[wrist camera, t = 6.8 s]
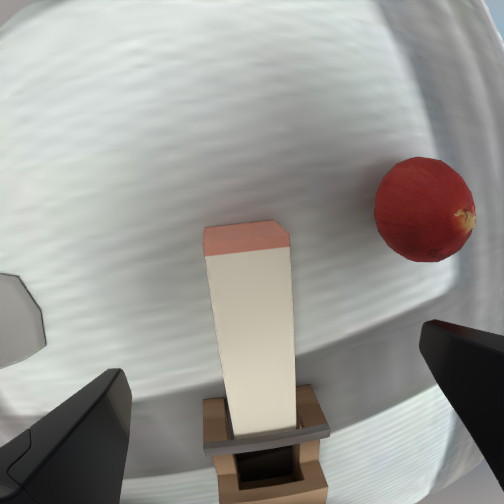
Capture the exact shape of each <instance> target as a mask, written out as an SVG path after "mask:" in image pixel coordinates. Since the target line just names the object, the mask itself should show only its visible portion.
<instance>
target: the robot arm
mask: <svg viewBox="0 0 504 504" xmlns="http://www.w3.org/2000/svg"><path fill="white" fill-rule="evenodd" d="M419 349H420V352H421V354H422V356H423V358H424V359H425V361H426V363H427V365H428V367H429V369H430V371H431V372H432V374H433V376H434V378H435V380H436V382H437V384H438V385H439V387H440V389H441V390H442V392H443V393H444V395H445V396H446V398H447V399H448V401H449V402H450V404H451V405H452V407H453V408H454V410H455V411H456V413H457V414H458V416H459V418H460V419H461V421H462V422H463V424H464V425H465V427H466V428H467V430H468V432H469V433H470V435H471V436H472V438H473V440H474V441H475V443H476V445H477V446H478V448H479V450H480V451H481V453H482V455H483V456H484V458H485V459H486V461H487V463H488V464H489V466H490V468H491V470H492V471H493V473H494V475H495V477H496V479H497V480H498V482H499V484H500V486H501V487H502V489H503V491H504V336H502V335H498V334H494V333H489V332H485V331H481V330H477V329H473V328H469V327H465V326H460V325H456V324H452V323H448V322H444V321H440V320H436V319H433V320H430V321H426V322H424V323H423V325H422V330H421V336H420V342H419ZM131 404H132V393H131V390H130V387H129V384H128V381H127V379H126V376H125V373H124V371H123V370H122V369H121V368H114V369H108V370H106V371H105V372H104V373H102V374H101V375H99V376H98V377H97V378H95V379H94V380H93V381H91V382H90V383H89V384H87V385H86V386H85V387H83V388H82V389H81V390H79V391H78V392H77V393H75V394H74V395H73V396H71V397H70V398H69V399H67V400H66V401H64V402H63V403H62V404H60V405H59V406H58V407H56V408H55V409H54V410H52V411H51V412H50V413H48V414H47V415H46V416H44V417H43V418H41V419H40V420H39V421H37V422H36V423H35V424H33V425H32V426H31V427H30V429H29V428H28V429H26V430H25V431H24V432H22V433H21V434H20V435H18V436H17V437H15V438H14V439H13V440H11V441H10V442H8V443H7V444H5V445H4V446H2V447H0V504H119V501H120V494H121V487H122V480H123V474H124V468H125V462H126V456H127V450H128V444H129V434H130V417H131Z"/></svg>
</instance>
